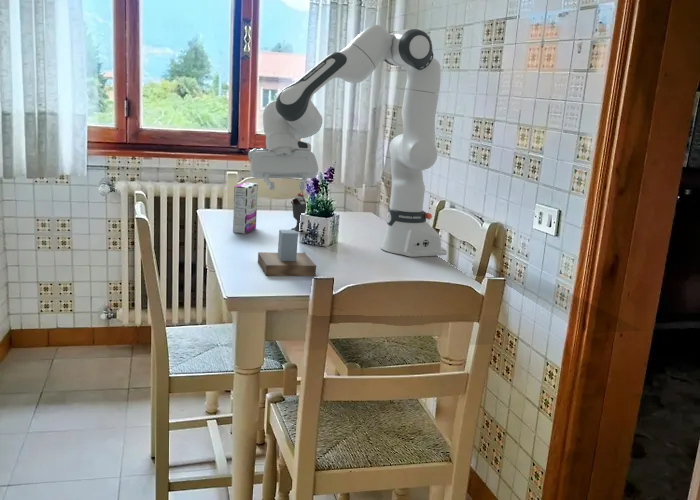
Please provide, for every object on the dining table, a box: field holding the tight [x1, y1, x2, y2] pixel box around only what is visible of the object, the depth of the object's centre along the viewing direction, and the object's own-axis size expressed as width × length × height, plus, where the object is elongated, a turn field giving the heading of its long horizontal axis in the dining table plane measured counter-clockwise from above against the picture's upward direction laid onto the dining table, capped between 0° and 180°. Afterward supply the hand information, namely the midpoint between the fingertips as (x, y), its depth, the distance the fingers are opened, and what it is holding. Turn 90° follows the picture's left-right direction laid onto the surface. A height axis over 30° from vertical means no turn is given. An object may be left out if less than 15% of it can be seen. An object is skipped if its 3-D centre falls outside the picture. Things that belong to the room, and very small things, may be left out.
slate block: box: [277, 229, 299, 261], centre depth 189 cm, size 4×4×8 cm
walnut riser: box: [257, 251, 317, 277], centre depth 190 cm, size 14×14×3 cm
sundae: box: [290, 190, 308, 232], centre depth 242 cm, size 7×7×15 cm
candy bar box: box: [232, 181, 259, 235], centre depth 233 cm, size 11×5×16 cm, turn 168°
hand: (287, 188), depth 196 cm, fingers open, 8 cm apart
